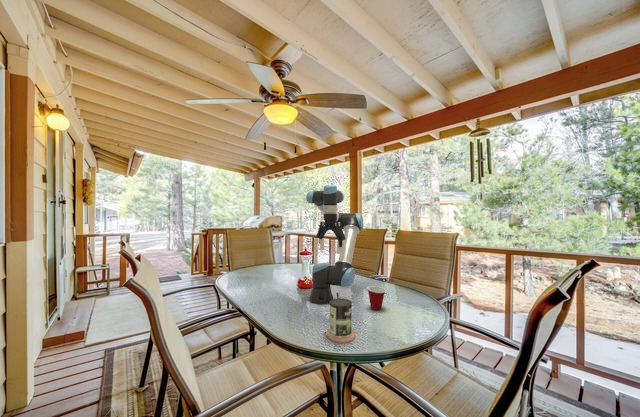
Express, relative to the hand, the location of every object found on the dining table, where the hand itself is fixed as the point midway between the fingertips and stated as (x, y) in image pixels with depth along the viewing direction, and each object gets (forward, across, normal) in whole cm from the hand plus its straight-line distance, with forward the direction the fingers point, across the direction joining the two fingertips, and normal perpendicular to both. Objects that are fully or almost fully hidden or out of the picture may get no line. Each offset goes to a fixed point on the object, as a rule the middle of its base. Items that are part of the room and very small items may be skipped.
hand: (330, 251), depth 144 cm
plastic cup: (+35, +13, +25) cm, 45 cm away
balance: (+35, +5, +1) cm, 35 cm away
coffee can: (+33, +20, -14) cm, 42 cm away
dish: (+35, +20, -14) cm, 43 cm away
